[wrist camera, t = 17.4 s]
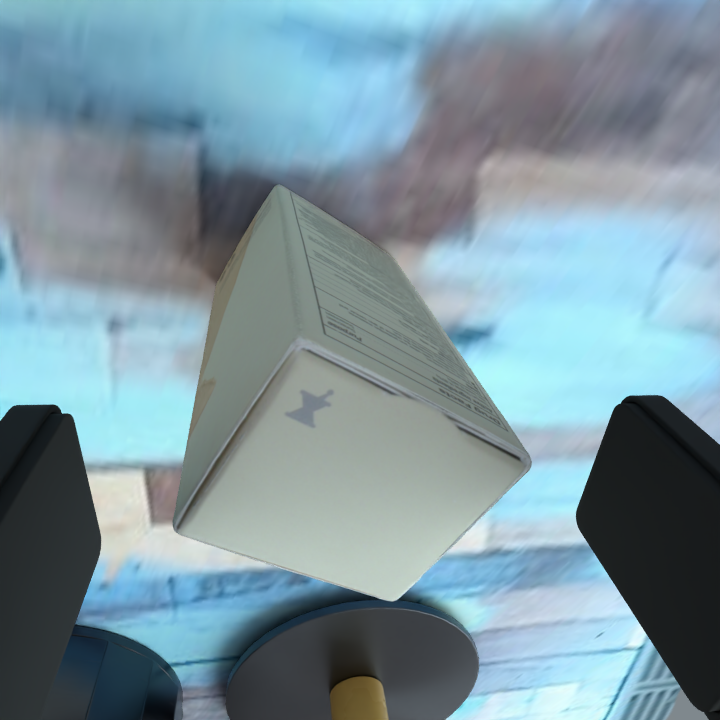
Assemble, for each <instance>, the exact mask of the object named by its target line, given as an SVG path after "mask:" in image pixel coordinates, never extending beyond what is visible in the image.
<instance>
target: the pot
mask: <svg viewBox="0 0 720 720" xmlns="http://www.w3.org/2000/svg"><path fill="white" fill-rule="evenodd" d="M182 702H183V694H182V688H181V685H180V681H179V679H178V677H177V676H176V674H175V672H174V671H173V670H172V668H171V667H170V666H169V665H168V663H166V662H165V661H164V660H163V659H162V658H161V657H160V656H159V655H157V654H156V653H154V652H153V651H151V650H150V649H148V648H146V647H145V646H143V645H141V644H139V643H137V642H135V641H133V640H130V639H127V638H125V637H122V636H120V635H117V634H113V633H110V632H106V631H103V630H98V629H93V628H88V627H83V626H74V628H73V631H72V633H71V636H70V639H69V642H68V644H67V647H66V650H65V653H64V655H63V658H62V661H61V664H60V667H59V669H58V672H57V675H56V678H55V680H54V683H53V686H52V689H51V691H50V694H49V697H48V700H47V703H46V705H45V708H44V711H43V714H42V716H41V719H40V720H182V718H183V711H182Z"/></svg>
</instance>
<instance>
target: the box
mask: <svg viewBox="0 0 720 720" xmlns="http://www.w3.org/2000/svg"><path fill="white" fill-rule="evenodd" d="M531 464H532V462H531V459H530V456H529V454H528V453H527V451H526V450H525V448H524V447H523V445H522V444H521V442H520V441H519V439H518V437H517V436H516V435H515V433H514V432H513V430H512V429H511V427H510V426H509V424H508V423H507V421H506V420H505V418H504V417H503V415H502V414H501V413H500V411H499V410H498V408H497V407H496V406H495V404H494V403H493V401H492V400H491V398H490V397H489V395H488V394H487V392H486V391H485V389H484V388H483V387H482V385H481V384H480V382H479V381H478V379H477V378H476V376H475V375H474V373H473V372H472V370H471V369H470V368H469V366H468V365H467V363H466V362H465V361H464V359H463V358H462V356H461V355H460V353H459V352H458V350H457V349H456V347H455V346H454V344H453V343H452V342H451V340H450V339H449V337H448V336H447V334H446V333H445V332H444V330H443V329H442V327H441V326H440V324H439V323H438V321H437V320H436V318H435V317H434V315H433V314H432V312H431V311H430V309H429V308H428V307H427V305H426V304H425V302H424V301H423V299H422V298H421V296H420V295H419V294H418V292H417V291H416V289H415V288H414V286H413V285H412V284H411V282H410V281H409V279H408V278H407V276H406V275H405V273H404V272H403V271H402V269H401V268H400V266H399V265H398V263H397V262H396V261H395V259H394V258H393V257H392V256H390V255H389V254H387V253H386V252H385V251H383V250H382V249H380V248H379V247H378V246H376V245H375V244H373V243H372V242H371V241H369V240H368V239H366V238H365V237H363V236H362V235H360V234H359V233H357V232H356V231H354V230H352V229H351V228H349V227H348V226H346V225H345V224H343V223H341V222H340V221H338V220H337V219H335V218H333V217H332V216H330V215H329V214H327V213H326V212H324V211H323V210H321V209H320V208H318V207H316V206H315V205H313V204H312V203H310V202H308V201H307V200H305V199H303V198H302V197H300V196H299V195H297V194H295V193H294V192H292V191H290V190H289V189H287V188H285V187H284V186H282V185H279V184H278V185H276V186H275V187H274V188H273V189H272V191H271V192H270V194H269V195H268V197H267V198H266V200H265V201H264V203H263V205H262V206H261V208H260V209H259V211H258V212H257V214H256V215H255V217H254V219H253V220H252V222H251V224H250V225H249V227H248V229H247V230H246V232H245V234H244V235H243V237H242V239H241V240H240V242H239V244H238V245H237V247H236V249H235V251H234V253H233V254H232V256H231V258H230V260H229V261H228V263H227V265H226V267H225V269H224V271H223V272H222V274H221V276H220V278H219V280H218V282H217V284H216V288H215V293H214V299H213V304H212V310H211V315H210V320H209V326H208V333H207V338H206V344H205V349H204V355H203V361H202V365H201V370H200V375H199V381H198V386H197V391H196V396H195V402H194V408H193V414H192V419H191V424H190V429H189V435H188V440H187V446H186V451H185V457H184V462H183V468H182V474H181V480H180V486H179V491H178V496H177V502H176V508H175V513H174V517H173V528H174V531H175V532H177V533H178V534H180V535H182V536H185V537H188V538H191V539H194V540H197V541H200V542H203V543H205V544H208V545H212V546H215V547H218V548H221V549H224V550H227V551H230V552H233V553H235V554H239V555H242V556H245V557H248V558H251V559H254V560H257V561H261V562H264V563H266V564H269V565H273V566H276V567H279V568H282V569H285V570H288V571H291V572H294V573H298V574H301V575H305V576H308V577H311V578H314V579H317V580H320V581H324V582H327V583H330V584H334V585H337V586H340V587H344V588H347V589H350V590H354V591H357V592H360V593H364V594H367V595H370V596H373V597H376V598H379V599H383V600H386V601H392V602H393V601H395V600H397V599H399V598H400V597H401V596H402V595H403V594H404V593H405V592H407V591H408V590H409V589H410V588H411V587H412V586H413V585H414V584H415V583H416V582H417V581H418V580H419V579H420V578H421V577H422V576H423V574H425V573H426V572H427V571H428V570H429V569H430V568H431V567H432V566H433V565H434V564H435V563H436V562H437V561H438V560H439V559H441V558H442V557H443V556H444V555H445V554H446V552H447V551H449V549H450V548H451V547H452V546H453V545H454V544H456V543H457V542H458V541H459V540H460V539H461V538H462V536H463V535H464V534H465V533H466V532H467V531H468V530H469V529H470V528H471V527H472V526H473V525H474V524H475V523H476V522H477V521H478V520H480V519H481V518H482V517H483V516H484V515H485V514H486V513H487V512H488V511H489V510H490V509H491V508H492V507H493V506H494V505H495V504H496V503H497V502H498V500H499V499H500V498H501V497H502V496H503V495H504V494H505V493H506V492H507V491H508V490H509V489H510V488H511V487H512V486H513V485H514V484H516V483H517V482H518V481H519V480H520V479H521V478H522V477H523V476H524V475H525V474H526V473H527V472H528V471H529V469H530V468H531Z"/></svg>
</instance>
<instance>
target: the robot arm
mask: <svg viewBox="0 0 720 720" xmlns="http://www.w3.org/2000/svg"><path fill="white" fill-rule="evenodd" d="M576 521H577V525H578V528H579V530H580V532H581V533H582V535H583V536H584V538H585V539H586V541H587V542H588V544H589V546H590V547H591V549H592V550H593V552H594V553H595V555H596V556H597V558H598V560H599V561H600V563H601V564H602V566H603V567H604V569H605V570H606V572H607V573H608V575H609V577H610V578H611V580H612V581H613V583H614V584H615V586H616V587H617V589H618V591H619V592H620V594H621V595H622V597H623V598H624V600H625V601H626V603H627V604H628V606H629V608H630V609H631V611H632V612H633V614H634V615H635V617H636V618H637V620H638V622H639V623H640V625H641V626H642V628H643V629H644V631H645V632H646V634H647V635H648V637H649V639H650V640H651V642H652V643H653V645H654V646H655V648H656V649H657V651H658V653H659V654H660V656H661V657H662V659H663V660H664V662H665V663H666V665H667V666H668V668H669V670H670V671H671V673H672V674H673V676H674V677H675V679H676V680H677V682H678V684H679V685H680V687H681V688H682V690H683V691H684V693H685V694H686V696H687V697H688V699H689V700H690V702H691V703H692V704H693V705H694V706H695V707H696V708H697V709H698V710H700V711H702V712H704V713H705V715H706V716H707V718H708V719H709V720H720V445H719V444H718V443H717V442H716V441H715V440H714V439H712V438H711V437H710V436H709V435H708V434H707V433H706V432H704V431H703V430H702V429H701V428H700V427H699V426H697V425H696V424H695V423H694V422H693V421H692V420H691V419H689V418H688V417H687V416H686V415H685V414H684V413H682V412H681V411H680V410H679V409H678V408H677V407H675V406H674V405H673V404H672V403H671V402H670V401H669V400H667V399H666V398H664V397H663V396H658V395H642V396H628V397H626V398H625V399H624V400H623V401H622V402H621V404H618V405H617V406H616V407H615V408H614V410H613V412H612V415H611V418H610V420H609V423H608V426H607V429H606V431H605V434H604V437H603V439H602V442H601V445H600V448H599V450H598V453H597V456H596V459H595V461H594V464H593V467H592V469H591V472H590V475H589V478H588V480H587V483H586V486H585V489H584V491H583V494H582V497H581V500H580V502H579V505H578V508H577V511H576ZM100 550H101V534H100V529H99V525H98V521H97V517H96V512H95V508H94V504H93V500H92V495H91V491H90V487H89V482H88V478H87V474H86V470H85V465H84V461H83V457H82V452H81V448H80V444H79V440H78V435H77V431H76V427H75V422H74V419H73V417H72V416H71V415H70V414H62V413H61V410H60V409H59V407H58V406H56V405H16V406H13V407H12V408H11V409H10V410H9V411H8V412H7V413H6V414H5V416H4V417H3V418H2V420H1V421H0V720H40V719H41V716H42V714H43V711H44V708H45V705H46V703H47V700H48V697H49V694H50V691H51V689H52V686H53V683H54V680H55V678H56V675H57V672H58V669H59V667H60V664H61V661H62V658H63V655H64V653H65V650H66V647H67V644H68V642H69V639H70V636H71V633H72V631H73V628H74V625H75V622H76V619H77V617H78V614H79V611H80V608H81V606H82V603H83V600H84V597H85V595H86V592H87V589H88V586H89V583H90V581H91V578H92V575H93V572H94V570H95V567H96V564H97V561H98V558H99V555H100Z"/></svg>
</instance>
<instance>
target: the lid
mask: <svg viewBox="0 0 720 720" xmlns="http://www.w3.org/2000/svg"><path fill="white" fill-rule="evenodd" d="M478 671H479V657H478V653H477V649H476V646H475V643H474V641H473V639H472V637H471V635H470V634H469V633H468V631H467V630H466V629H465V628H464V627H463V625H461V624H460V623H459V622H458V621H457V620H455V619H454V618H452V617H451V616H449V615H447V614H446V613H444V612H442V611H439V610H437V609H434V608H432V607H429V606H425V605H421V604H418V603H413V602H406V601H399V600H395V601H393V602H392V601H386V600H363V601H355V602H347V603H342V604H337V605H332V606H328V607H324V608H321V609H318V610H314V611H311V612H308V613H306V614H303V615H301V616H298V617H296V618H293V619H291V620H289V621H287V622H285V623H283V624H281V625H279V626H277V627H276V628H274V629H273V630H271V631H270V632H268V633H267V634H265V635H263V636H262V637H261V638H260V639H259V640H257V641H256V642H255V643H254V644H252V645H251V646H250V647H249V648H248V649H247V650H246V652H245V653H244V654H243V655H242V656H241V657H240V659H239V660H238V661H237V663H236V664H235V666H234V668H233V670H232V672H231V674H230V676H229V679H228V683H227V687H226V709H227V714H228V716H229V718H230V720H445V719H446V718H448V717H449V716H450V715H451V714H453V713H454V712H455V711H456V710H457V709H458V708H459V707H460V706H461V705H462V703H463V702H464V701H465V700H466V698H467V697H468V696H469V694H470V692H471V691H472V689H473V687H474V685H475V682H476V680H477V676H478Z"/></svg>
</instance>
